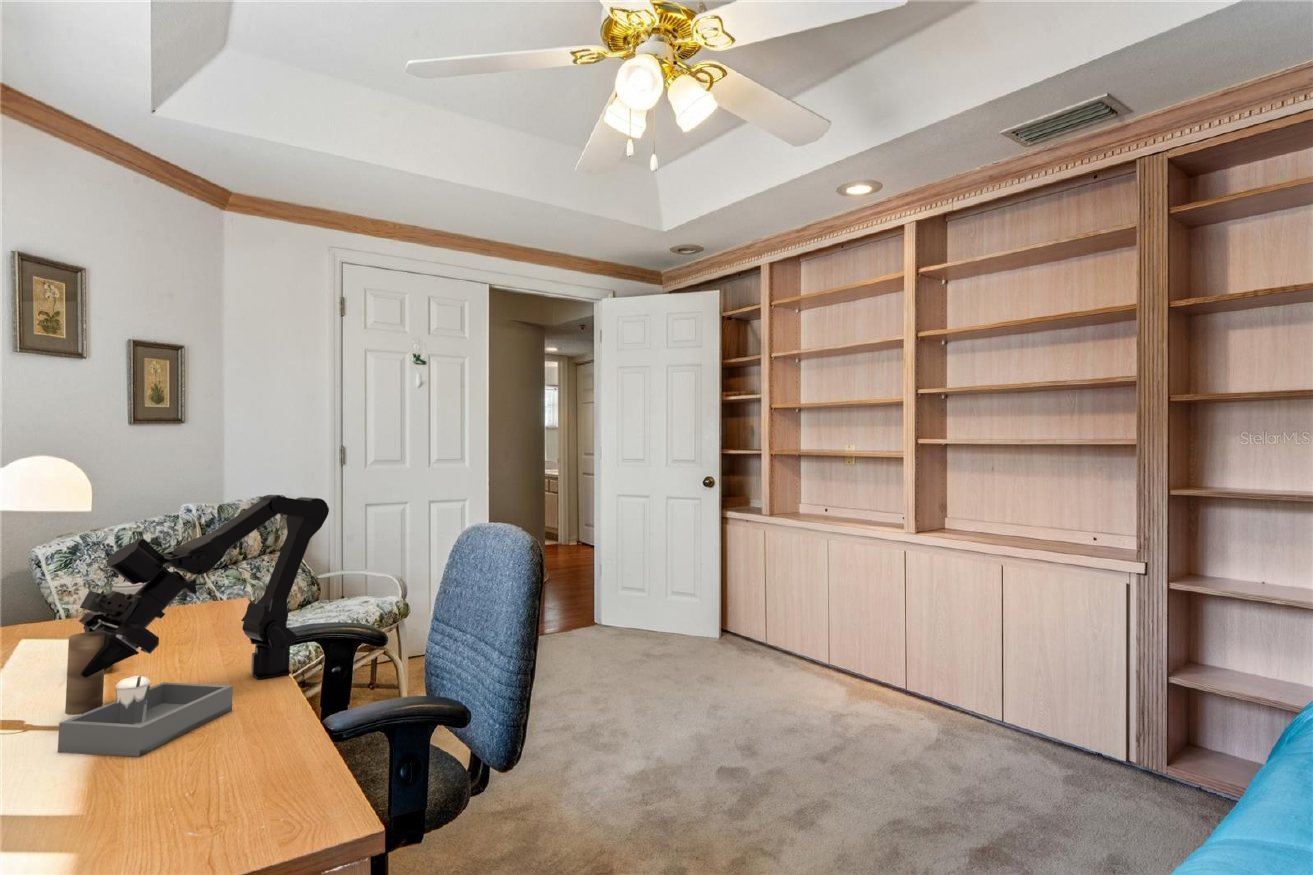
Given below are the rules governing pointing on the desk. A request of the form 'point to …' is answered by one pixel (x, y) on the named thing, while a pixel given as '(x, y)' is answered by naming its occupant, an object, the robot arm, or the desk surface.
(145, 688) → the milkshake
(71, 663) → the walnut cylinder
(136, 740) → the tray
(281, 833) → the desk surface
